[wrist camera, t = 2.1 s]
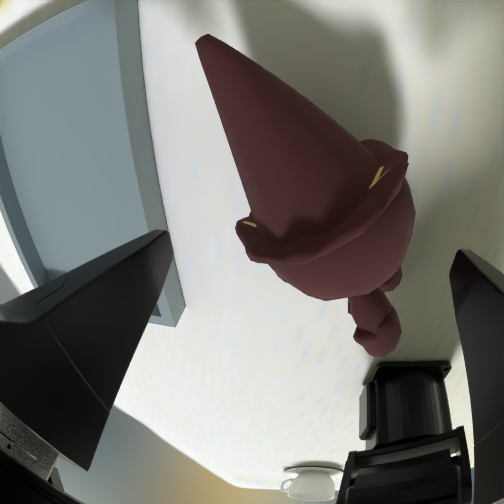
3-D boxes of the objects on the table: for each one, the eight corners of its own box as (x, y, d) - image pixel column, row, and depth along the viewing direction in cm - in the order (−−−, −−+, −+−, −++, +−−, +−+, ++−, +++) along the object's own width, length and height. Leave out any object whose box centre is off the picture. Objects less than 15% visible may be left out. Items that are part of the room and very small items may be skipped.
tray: (137, -7, 10) (114, -12, 9) (185, 306, 21) (175, 327, 20) (-11, 66, 13) (-31, 72, 11) (52, 283, 24) (39, 298, 22)
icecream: (78, 136, 8) (314, 377, 15) (244, -42, 4) (458, 367, 10) (183, 71, 13) (339, 277, 19) (310, -20, 8) (451, 251, 15)
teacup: (348, 464, 36) (345, 492, 32) (342, 479, 41) (340, 502, 37) (280, 462, 38) (275, 489, 34) (285, 477, 44) (281, 500, 40)
